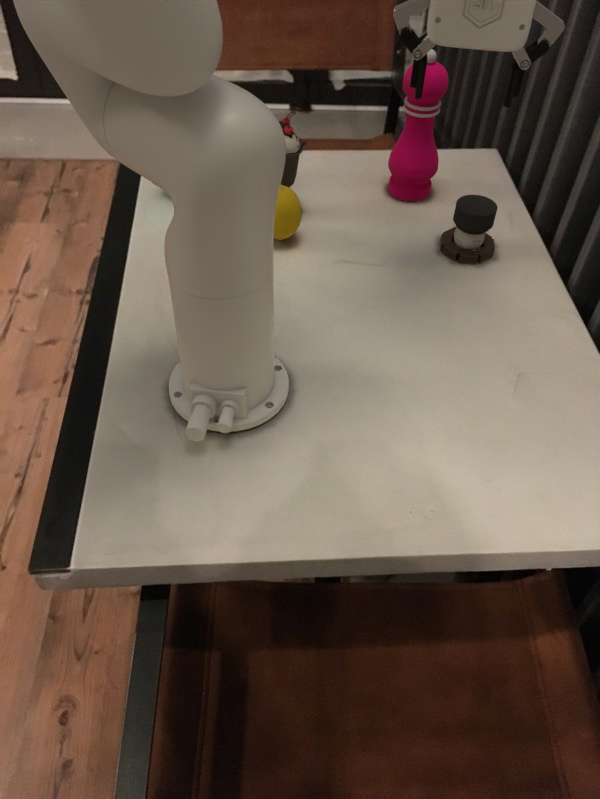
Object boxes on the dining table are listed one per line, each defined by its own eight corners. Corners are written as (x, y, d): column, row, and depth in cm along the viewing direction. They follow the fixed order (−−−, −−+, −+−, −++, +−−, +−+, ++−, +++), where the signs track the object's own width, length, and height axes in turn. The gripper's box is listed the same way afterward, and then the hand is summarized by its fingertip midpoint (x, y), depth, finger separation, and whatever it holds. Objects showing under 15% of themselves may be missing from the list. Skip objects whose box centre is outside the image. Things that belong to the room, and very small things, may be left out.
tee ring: (494, 266, 89) (496, 258, 89) (440, 261, 90) (441, 253, 89) (490, 236, 94) (492, 229, 93) (439, 232, 95) (441, 224, 94)
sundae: (304, 225, 95) (307, 118, 84) (255, 223, 95) (253, 116, 84) (304, 200, 100) (308, 96, 89) (258, 199, 100) (256, 94, 89)
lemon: (296, 253, 90) (297, 199, 85) (255, 248, 91) (254, 193, 85) (304, 231, 94) (306, 177, 88) (265, 226, 95) (264, 172, 89)
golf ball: (460, 237, 94) (466, 211, 91) (486, 247, 92) (493, 221, 89) (445, 249, 92) (451, 223, 89) (471, 260, 90) (478, 234, 87)
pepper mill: (432, 180, 105) (457, 41, 90) (434, 205, 100) (460, 61, 85) (385, 177, 105) (402, 37, 91) (384, 201, 100) (402, 58, 86)
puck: (493, 238, 88) (498, 217, 85) (452, 234, 88) (457, 213, 86) (491, 216, 91) (496, 196, 89) (451, 213, 91) (456, 192, 89)
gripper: (405, -88, 61) (381, 104, 73) (602, -73, 60) (544, 120, 72) (407, -104, 67) (385, 79, 79) (588, -90, 65) (537, 93, 78)
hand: (461, 98), depth 75 cm, fingers open, 9 cm apart
